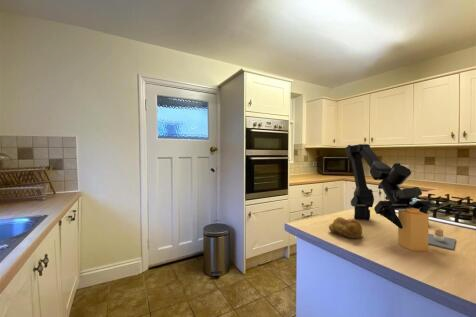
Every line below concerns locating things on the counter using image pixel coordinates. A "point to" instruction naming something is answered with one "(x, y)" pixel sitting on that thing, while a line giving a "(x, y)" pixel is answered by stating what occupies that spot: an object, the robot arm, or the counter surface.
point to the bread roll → (346, 228)
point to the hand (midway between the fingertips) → (414, 228)
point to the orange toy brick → (413, 229)
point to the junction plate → (442, 244)
